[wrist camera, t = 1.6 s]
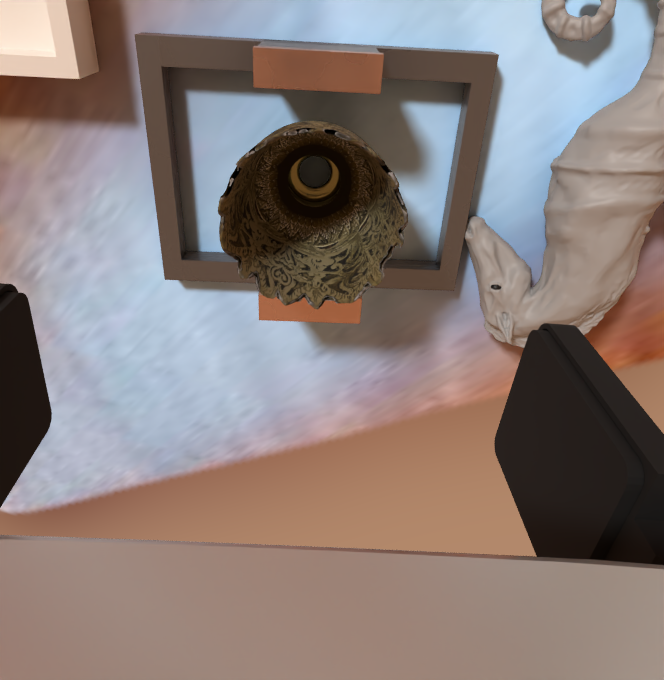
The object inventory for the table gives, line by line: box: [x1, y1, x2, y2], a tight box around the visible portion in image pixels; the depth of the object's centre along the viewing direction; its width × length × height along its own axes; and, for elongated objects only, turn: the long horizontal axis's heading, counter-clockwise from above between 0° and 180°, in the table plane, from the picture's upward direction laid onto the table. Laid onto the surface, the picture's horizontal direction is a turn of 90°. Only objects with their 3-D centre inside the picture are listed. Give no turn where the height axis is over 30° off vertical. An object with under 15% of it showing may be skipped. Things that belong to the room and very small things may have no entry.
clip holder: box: [135, 33, 499, 324], centre depth 26 cm, size 16×12×5 cm
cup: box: [218, 121, 408, 309], centre depth 25 cm, size 8×7×8 cm
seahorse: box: [464, 0, 664, 348], centre depth 27 cm, size 5×12×20 cm
